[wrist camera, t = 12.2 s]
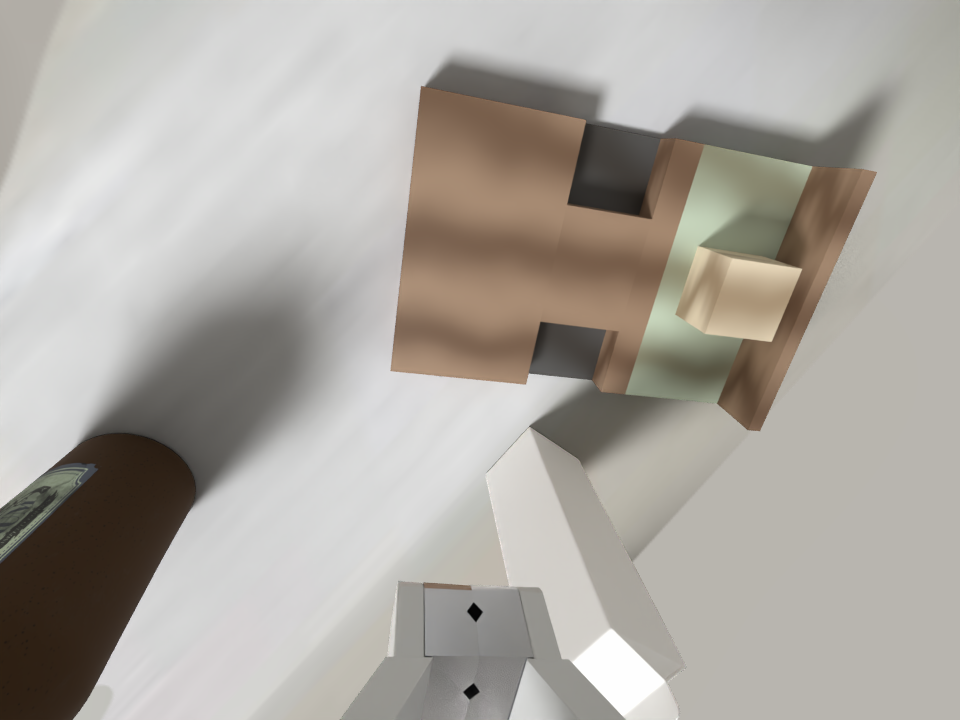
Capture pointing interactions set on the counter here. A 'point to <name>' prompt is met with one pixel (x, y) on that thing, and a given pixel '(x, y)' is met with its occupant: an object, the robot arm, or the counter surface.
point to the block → (736, 294)
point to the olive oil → (81, 567)
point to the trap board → (600, 253)
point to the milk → (582, 577)
